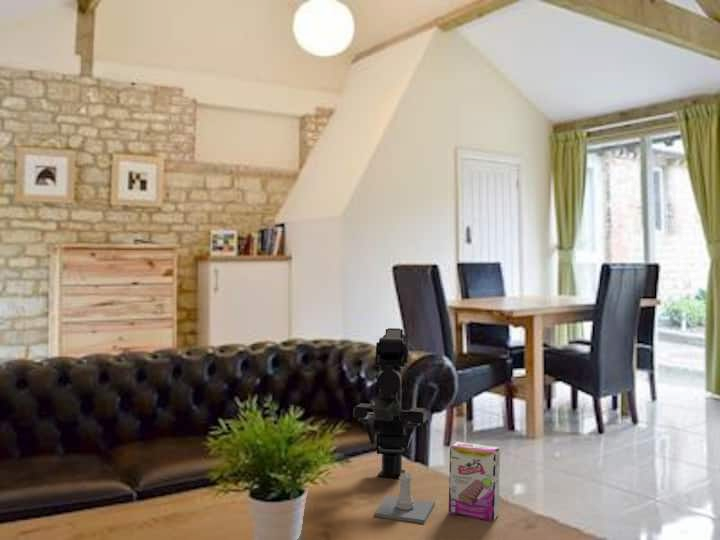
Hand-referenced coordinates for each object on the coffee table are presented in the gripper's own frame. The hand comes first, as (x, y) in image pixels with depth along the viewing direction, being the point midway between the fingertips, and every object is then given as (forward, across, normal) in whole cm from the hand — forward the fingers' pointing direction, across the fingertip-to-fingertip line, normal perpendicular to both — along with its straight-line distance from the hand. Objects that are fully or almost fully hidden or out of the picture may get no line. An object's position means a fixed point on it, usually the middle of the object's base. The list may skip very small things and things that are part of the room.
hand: (389, 446), depth 164 cm
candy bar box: (+12, +23, -8) cm, 27 cm away
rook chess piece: (+11, +7, -11) cm, 17 cm away
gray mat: (+12, +7, -11) cm, 18 cm away
